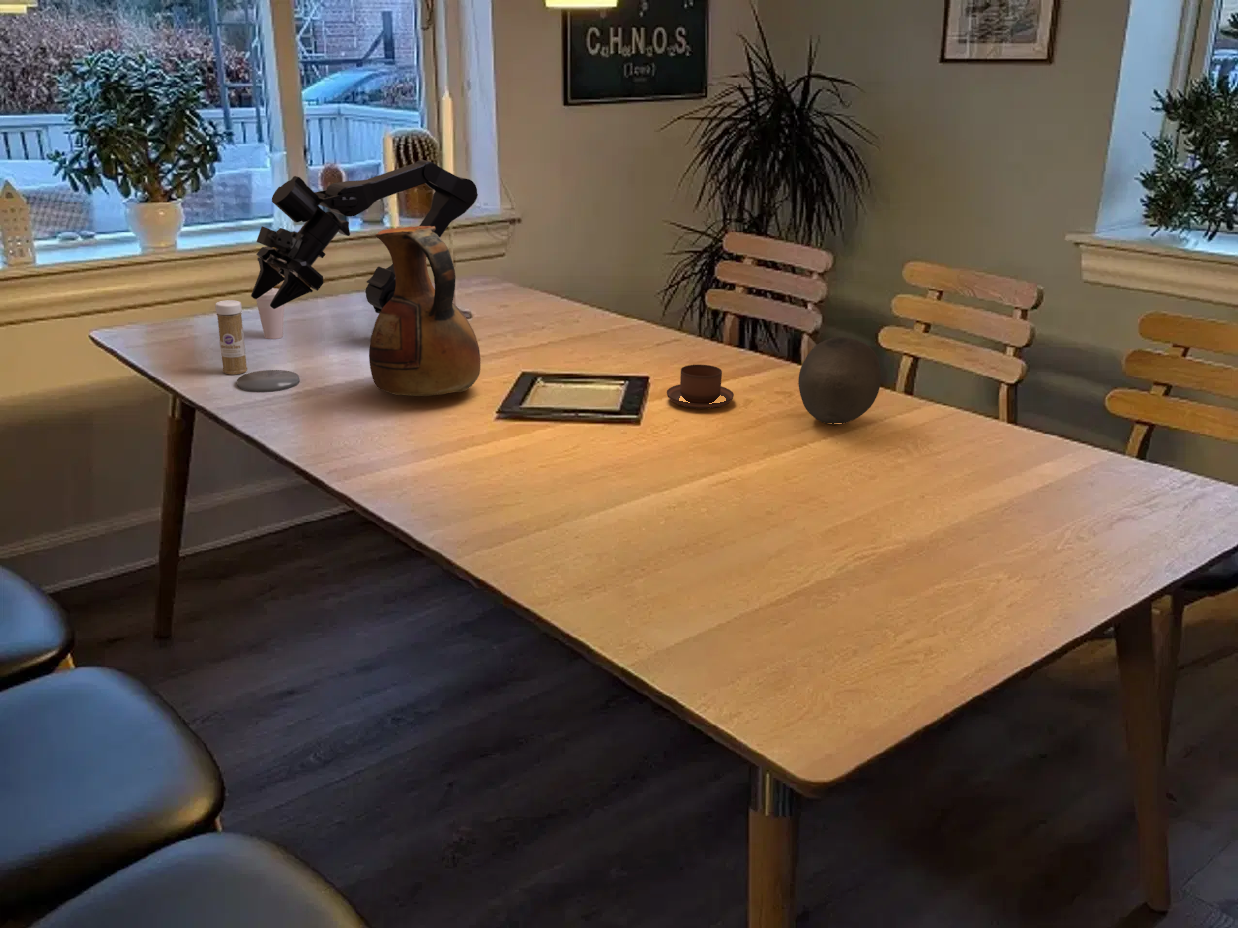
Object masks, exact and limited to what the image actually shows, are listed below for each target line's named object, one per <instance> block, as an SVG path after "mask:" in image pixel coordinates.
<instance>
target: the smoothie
mask: <svg viewBox="0 0 1238 928" xmlns="http://www.w3.org/2000/svg"><path fill="white" fill-rule="evenodd" d="M278 290H279V288H277V287H276V288H275V287H273V288H272V289H271V290H269V291H268V292H266V293H265V294H263V295H262V296H260V297H259V298H257V299H255V301H256V306H257V308H258V309H257V310H258V314H259V317H260V323H261V327H262V332H263V336H264V338H265V339H267V340H278V339H282V338H283V337H284V318H285V304H284V305H282V306H280V307H278V308H276V309H273V308H272V307H271V306H270V304H271V302H272V300H273V298H274V296H275V295H276V293H277V292H278Z"/></svg>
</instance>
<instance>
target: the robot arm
mask: <svg viewBox="0 0 1238 928" xmlns="http://www.w3.org/2000/svg"><path fill="white" fill-rule="evenodd" d="M423 184H425V185H426V186H427V187H428V188H430V189H431V190H433V191H434V192H433V195H432V202H431V208H430V209H429V211H428V212H427V214H426V215H425V217H424V219H423V220H422V221H421V222H420V224H419V225H418V226H431V227H432V226H435V228H436V229H435V231H434V233H436V234H437V235H438V236H439V237H440V238H441V237H442V236H443V234H444V233H445V231H446V230H447V228H448V227H449V225H450V224H452V222H453V221H455V220H456V219H458V218H459V217H461V216H462V215H465V213H466V212H467V211H468V210H469V209H470V208H471V207H472V206H473V205H474V204H475V202H476V200H477V199H478V195H479V194H478V189H477V185H476V183H474V181H472V179H470V178H466V177H462V176H461V177H460V176H457V175H455V174H453V173H451V172H449V171H447V170H445V169H444V168H442V167H440V166H439V165H437V164H436V163H435V162H434V161H430V160H424V159H419V160H417V161H415V162H414V163H412V164H408V165H405V166H403V167H400V168H397V169H394V170H390V171H388V172H387V171H386V172H385V173H381V174H379V175H376V176H374V177H370V178H366V179H361V180H345V181H339V182H334V183H331V184H329V185H328V186H327V187H326V189H325V190H318V191H313V189H311V188H310V187H309V186H308V185H307V184H306V182H305V181H304V180H303V178H301V177H300V176H296V175H293V177H292V178H291V179H290V180H287V181H286V182H284V183H282V185H281V186H279V187H277V189H276V190H275V191H274V193H273V195H272V197H271V202H272V203H273V204H274V205H275V206H276V207H277V208H278V209H279V210H280V211H282V212H283V213H284V214H285V215H286V216H287V217H288V218H289V219H291V220H292V221H293V222H294V223H297V224H298V223H303V225H302V226H301V228H299V230H298V231H295V230H293V231H290V230H288V229H284V228H282V227H279V228H278V229H277V230H273V229H271V228H268V227H266V226H264V225H263V226H262V225H261V227H260V230H259V233H258V236H257V239H256V243H258V244H261V245H263V246H261V247H260V249H259V250H258V251H257V253H256V256H257V259H256V261H258V264H259V273H258V276H257V278H256V282H255V283H254V286H253V289H252V292H251V294H250V297H251V298H252V299H254V300H256V299H257V298H259V297H260V296H262V295H263V294H265V293H266V292H268V291H269V290H271V289H272V288H275V287H276V286H278V285H279V284H281V285H280V286H279V288H278V289H279V290H278V292H277V293H276V295H275V296H274V298H273V300H272V302H271V304H270V306H271V307H272V308H273V309H276V308H278V307H280V306H282V305H284V306H285V305H286V304H288V303H290V302H292V301H294V300H295V299H298V298H300V297H302V296H304V295H306V294H307V295H308V294H310V293H313V292H314V290H315V291H316V292H317V291H319V290H320V289H321V287H322V286H323V284H324V276H323V275H322V274H321V273H320V272H319V271H318V270H316V269H315V268H314V267H313V265H314V263H315V262H316V261H317V260H318V258H321V259H323V258H324V257H325V256H326V253H325V252H324V251H325V249H326V248H327V247H328V245H329V244H330V243H331V242H332V241H333V239H334V237H336V235H337V234H338V233H339V234H340V235H344V236H346V237H349V236H351V231H350V226H349V221H347V220H345V219H343V220H342V219H340V218H339V217H338V216H337V215H335V214H339V215H341V216H344V217H350V218H352V217H356V216H357V215H359V214H361V213H363V212H364V211H367V210H368V209H370V207H371V206H372V205H374V204H375V203H376V202H378V201H379V200H382V199H384V198H387V197H390V196H392V195H396V194H398V193H401V192H404V191H407V190H410V189H412V188H415V187H418V186H422V185H423ZM320 206H322V207H324V208H327V209H328V210H329V211H325V210H323V208H321V207H320ZM366 284H367V285H366V288H365V291H364V293H365V298H366V301H367V302H368V303H369V304H370V306H372V307H373V309H374V311H375V313H376V314H379V313H380V312H381V310H382V308H383V307H384V306H385V304H386V303H387V302H388V301H389V300H390V299H391V298H392V297H393V295H394V293H395V286H396V279H395V271H394V267H393V263H392V264H391V265H389V266H388V267H386V268H385V267H382V266H377V267H376V269H375V271H374V272H373V274H372V275H371V277H370V278H369V279H368V280H366Z"/></svg>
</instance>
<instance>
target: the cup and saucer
mask: <svg viewBox="0 0 1238 928" xmlns="http://www.w3.org/2000/svg"><path fill="white" fill-rule="evenodd" d="M722 375H723V370H722V369H721V368H719V367H717V366H715V365H709V364H688V365H685V366H682V367H681V368H680V382H679V384H676V385H673V386H671V387H669V388H667V390H666V395H667V398H668V399H669V400H670V401H671V402H673V403H674V404H676V405H679V406H681V407H685V408H691V409H696V408H697V409H698V410H699V409H700V410H703V409H704V410H706V409H707V410H708V408H710V409H716V408H720V407H724V406H726V405H728V404H729V403H730V402H731V401H733V399H734V396H735V395H734V392H733V391H732V390H731V389H729V388H727V387H724V386H722V377H723V376H722ZM720 395H721V396H724V397H725V398H726V401H724V402H720V403H712V402H714V401H715V400H716V399H717V398H718V397H719V396H720ZM680 396H682V397H683V398H684V399H685V400H686V401H688V402H690V403H688V402H683V401H679V398H680ZM709 403H712V404H709Z"/></svg>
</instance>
